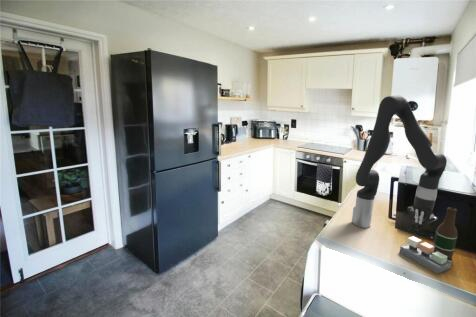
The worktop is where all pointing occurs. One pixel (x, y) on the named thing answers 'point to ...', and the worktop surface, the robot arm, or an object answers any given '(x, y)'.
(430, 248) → the key terracotta
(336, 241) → the worktop surface
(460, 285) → the worktop surface
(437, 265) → the grey tray
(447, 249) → the beer bottle
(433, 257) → the key sage
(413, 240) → the key ivory
